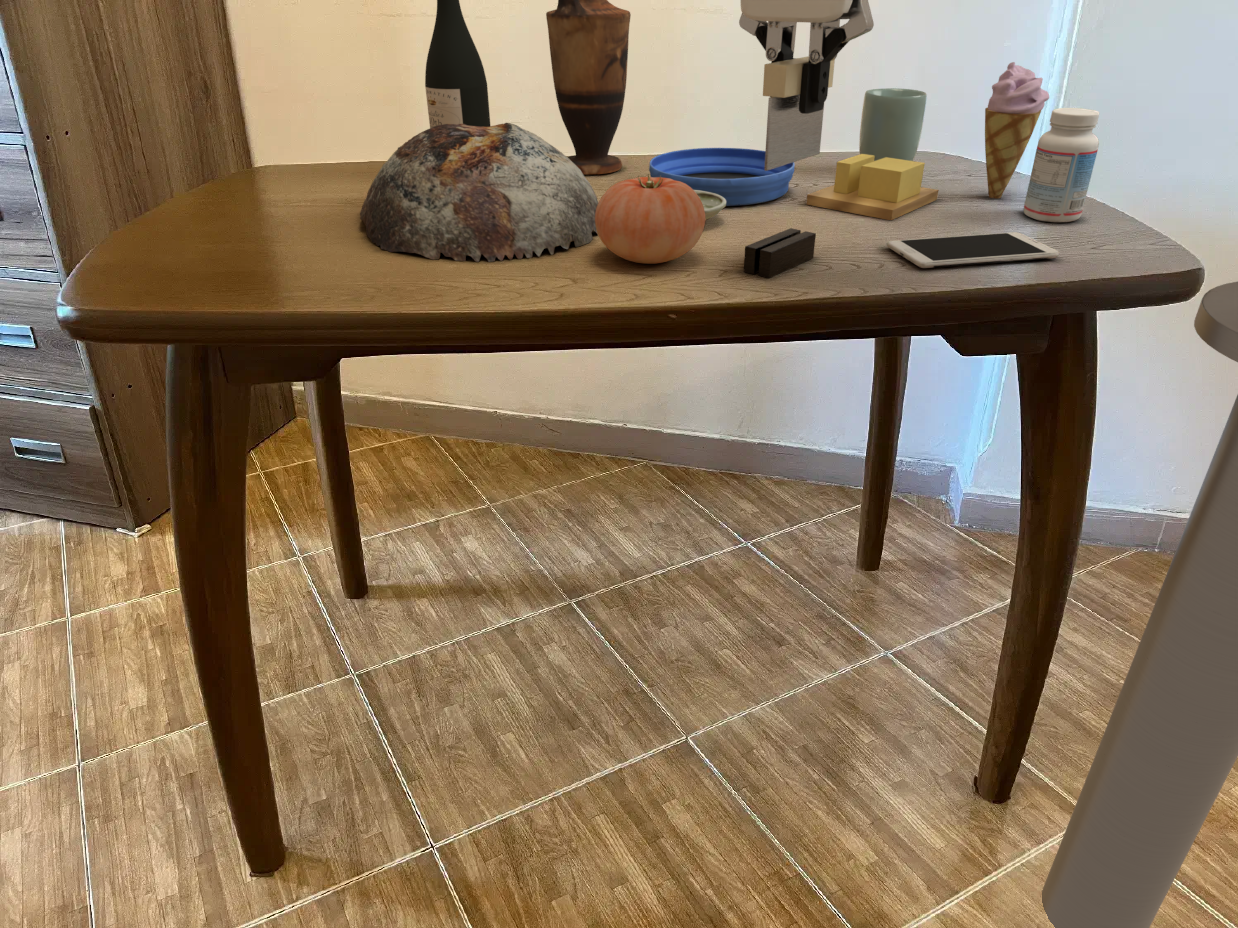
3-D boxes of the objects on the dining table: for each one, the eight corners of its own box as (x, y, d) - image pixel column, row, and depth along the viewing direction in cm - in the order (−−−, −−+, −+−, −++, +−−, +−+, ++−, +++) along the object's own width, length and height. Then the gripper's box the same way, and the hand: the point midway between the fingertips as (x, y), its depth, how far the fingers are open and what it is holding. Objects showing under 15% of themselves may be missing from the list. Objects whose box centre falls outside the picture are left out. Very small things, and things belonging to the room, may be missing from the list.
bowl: (722, 168, 122) (723, 141, 120) (821, 192, 109) (825, 163, 108) (620, 188, 112) (619, 159, 110) (716, 217, 100) (717, 186, 98)
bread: (561, 178, 117) (557, 98, 112) (643, 245, 91) (644, 145, 86) (351, 196, 110) (337, 111, 105) (375, 275, 83) (358, 167, 78)
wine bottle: (455, 184, 115) (427, -85, 99) (424, 174, 120) (393, -83, 104) (505, 174, 119) (486, -85, 104) (473, 165, 124) (450, -83, 109)
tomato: (726, 262, 86) (730, 179, 82) (636, 283, 81) (636, 196, 77) (660, 236, 94) (662, 159, 90) (575, 254, 88) (572, 173, 84)
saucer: (671, 237, 93) (672, 214, 92) (623, 217, 100) (623, 195, 99) (742, 223, 98) (744, 201, 96) (692, 205, 105) (692, 184, 103)
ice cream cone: (989, 188, 111) (1016, 58, 103) (1035, 197, 107) (1067, 63, 99) (959, 196, 107) (984, 62, 100) (1005, 206, 103) (1035, 67, 95)
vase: (592, 157, 129) (586, -83, 113) (646, 168, 122) (648, -85, 107) (536, 169, 122) (523, -84, 107) (591, 181, 115) (585, -87, 100)
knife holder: (813, 258, 87) (816, 233, 86) (768, 278, 82) (770, 252, 80) (788, 252, 88) (790, 228, 87) (743, 272, 83) (744, 246, 82)
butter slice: (870, 185, 108) (874, 155, 106) (846, 194, 104) (850, 164, 102) (857, 182, 109) (861, 153, 107) (833, 192, 105) (836, 161, 103)
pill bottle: (1066, 209, 102) (1092, 106, 96) (1089, 224, 96) (1118, 115, 91) (1013, 209, 102) (1036, 106, 96) (1033, 224, 97) (1059, 116, 91)
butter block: (920, 193, 104) (925, 162, 102) (896, 203, 100) (901, 171, 98) (881, 186, 107) (885, 157, 105) (857, 196, 103) (861, 165, 101)
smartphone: (884, 240, 89) (1018, 231, 91) (883, 246, 89) (1016, 237, 92) (920, 263, 83) (1062, 252, 85) (919, 269, 83) (1061, 258, 85)
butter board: (937, 200, 106) (938, 189, 105) (891, 220, 98) (892, 209, 98) (855, 186, 112) (856, 176, 112) (806, 204, 105) (807, 194, 104)
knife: (828, 155, 82) (838, 56, 78) (776, 172, 76) (783, 66, 72) (808, 152, 83) (816, 54, 79) (755, 169, 78) (760, 65, 73)
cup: (895, 163, 123) (906, 87, 118) (925, 175, 117) (939, 95, 112) (845, 167, 122) (854, 90, 116) (873, 179, 115) (884, 98, 110)
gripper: (704, -135, 71) (699, 108, 80) (887, -152, 61) (857, 125, 71) (757, -131, 75) (746, 98, 85) (934, -147, 66) (900, 112, 75)
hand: (797, 108), depth 78 cm, fingers closed on knife, 2 cm apart
